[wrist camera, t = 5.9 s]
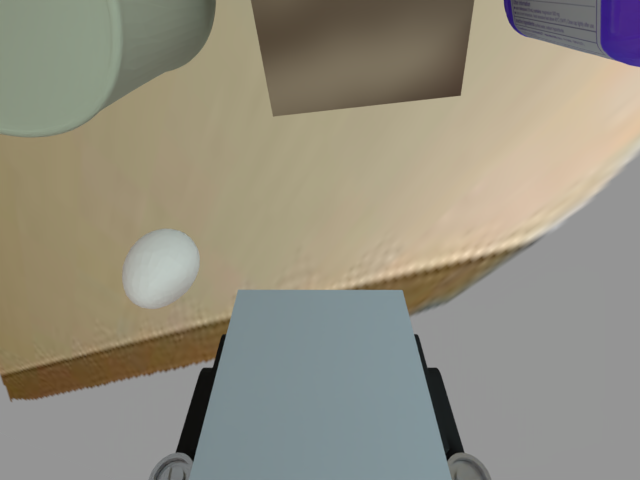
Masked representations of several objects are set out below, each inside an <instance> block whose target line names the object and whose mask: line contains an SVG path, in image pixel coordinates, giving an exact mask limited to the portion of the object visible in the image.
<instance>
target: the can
mask: <svg viewBox="0 0 640 480" xmlns="http://www.w3.org/2000/svg"><path fill="white" fill-rule="evenodd" d="M215 8H216V0H0V134H3V135H8V136H16V137H30V138H32V137H48V136H54V135H58V134H63V133H66V132H69V131H72V130H74V129H76V128H78V127H80V126H82V125H83V124H85V123H87V122H88V121H89V120H91V119H92V118H93V117H94V116H95V115H97V114H98V113H99V112H100V111H101V110H103V109H104V108H106V107H107V106H109V105H111V104H112V103H114V102H115V101H117V100H119V99H120V98H122V97H123V96H125V95H127V94H128V93H130V92H132V91H133V90H135V89H137V88H138V87H140V86H142V85H143V84H145V83H147V82H149V81H150V80H152V79H154V78H155V77H157V76H159V75H161V74H163V73H165V72H168V71H172V70H175V69H177V68H180V67H182V66H184V65H185V64H187V63H188V62H190V61H191V60H192V59H193V58H194V57H195V56H196V55H197V54H198V53H199V52H200V51H201V49H202V48H203V46H204V45H205V43H206V41H207V39H208V37H209V35H210V32H211V29H212V26H213V22H214V17H215Z"/></svg>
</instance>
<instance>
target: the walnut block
mask: <svg viewBox="0 0 640 480" xmlns="http://www.w3.org/2000/svg"><path fill="white" fill-rule="evenodd" d="M251 4H252V9H253V14H254V20H255V25H256V30H257V35H258V41H259V46H260V51H261V56H262V62H263V67H264V72H265V77H266V83H267V88H268V93H269V99H270V104H271V109H272V114H273V117H274V116H283V115H292V114H301V113H310V112H319V111H328V110H337V109H346V108H355V107H364V106H373V105H382V104H391V103H400V102H409V101H418V100H427V99H436V98H445V97H454V96H461V91H462V84H463V77H464V70H465V63H466V56H467V49H468V42H469V35H470V28H471V21H472V14H473V7H474V0H251Z"/></svg>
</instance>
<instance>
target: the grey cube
mask: <svg viewBox="0 0 640 480" xmlns="http://www.w3.org/2000/svg"><path fill="white" fill-rule="evenodd" d="M189 480H452V479H451V475H450V471H449V467H448V463H447V459H446V455H445V452H444V448H443V444H442V440H441V436H440V432H439V429H438V425H437V421H436V417H435V413H434V409H433V405H432V402H431V398H430V394H429V390H428V386H427V382H426V379H425V375H424V371H423V367H422V363H421V359H420V356H419V352H418V348H417V344H416V340H415V336H414V332H413V329H412V325H411V321H410V317H409V313H408V309H407V306H406V302H405V298H404V294H403V290H238V292H237V296H236V300H235V304H234V307H233V311H232V315H231V319H230V323H229V327H228V331H227V334H226V338H225V342H224V346H223V350H222V354H221V358H220V361H219V365H218V369H217V373H216V377H215V381H214V385H213V388H212V392H211V396H210V400H209V404H208V408H207V411H206V415H205V419H204V423H203V427H202V431H201V435H200V438H199V442H198V446H197V450H196V454H195V458H194V462H193V465H192V469H191V473H190V477H189Z"/></svg>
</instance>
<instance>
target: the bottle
mask: <svg viewBox="0 0 640 480" xmlns="http://www.w3.org/2000/svg"><path fill="white" fill-rule="evenodd" d="M504 8H505V12H506V16H507V18H508V21H509V23H510V25H511V26H512V27H513V29H514V30H515V31H516V32H518V33H519V34H521V35H523V36H525V37H529V38H534V39H538V40H541V41H545V42H548V43H552V44H556V45H559V46H563V47H566V48H570V49H573V50H577V51H581V52H585V53H589V54H593V55H597V56H600V57H604V58H607V59H611V60H615V61H619V62H622V63H625V64H627V65H631V66H636V67H640V0H504Z"/></svg>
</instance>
